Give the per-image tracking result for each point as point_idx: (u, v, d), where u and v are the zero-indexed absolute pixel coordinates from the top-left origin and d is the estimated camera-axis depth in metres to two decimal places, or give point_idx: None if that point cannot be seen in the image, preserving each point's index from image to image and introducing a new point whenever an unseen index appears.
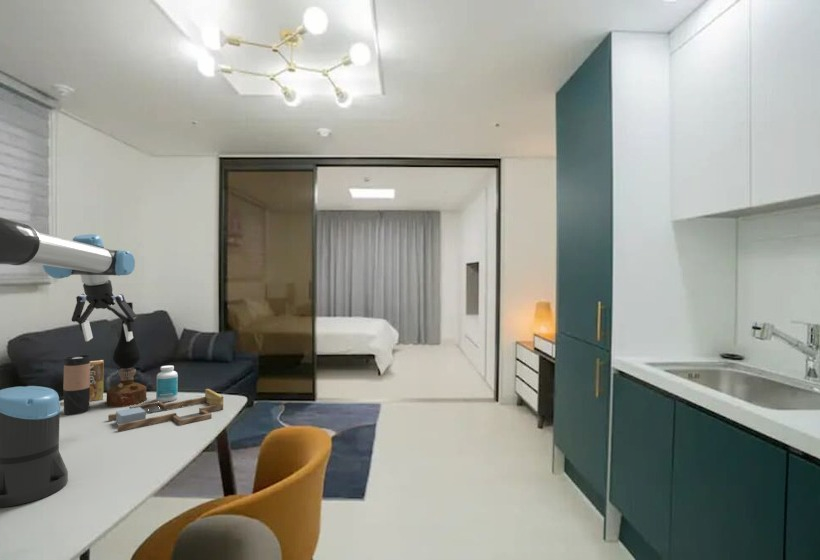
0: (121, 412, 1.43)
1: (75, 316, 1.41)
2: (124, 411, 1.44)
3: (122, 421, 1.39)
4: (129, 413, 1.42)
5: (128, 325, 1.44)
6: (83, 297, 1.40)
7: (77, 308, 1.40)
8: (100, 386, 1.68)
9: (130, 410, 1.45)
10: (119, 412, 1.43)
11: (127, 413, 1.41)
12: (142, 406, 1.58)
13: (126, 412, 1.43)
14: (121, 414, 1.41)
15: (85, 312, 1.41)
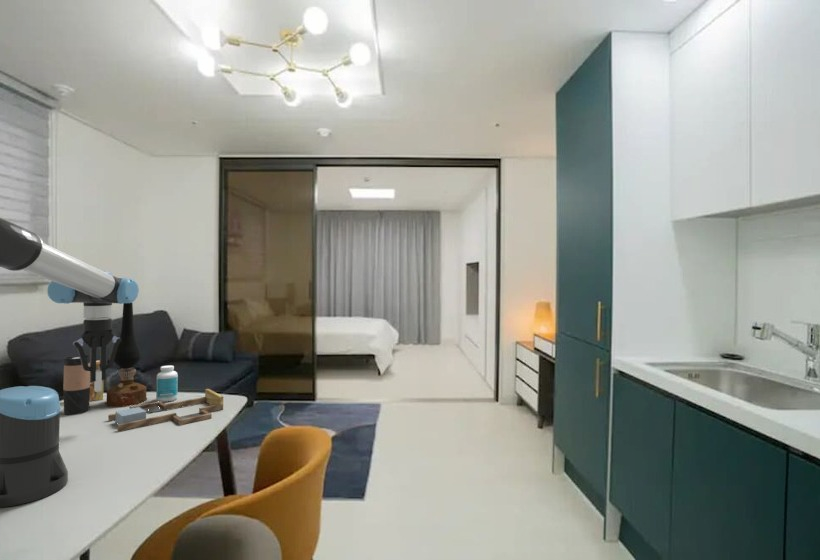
0: (121, 412, 1.42)
1: (86, 363, 1.34)
2: (124, 411, 1.44)
3: (123, 421, 1.39)
4: (129, 413, 1.42)
5: (103, 373, 1.38)
6: (79, 341, 1.33)
7: (82, 354, 1.33)
8: None
9: (130, 410, 1.45)
10: (119, 412, 1.42)
11: (128, 413, 1.41)
12: (142, 406, 1.58)
13: (126, 412, 1.43)
14: (121, 414, 1.41)
15: (93, 356, 1.35)
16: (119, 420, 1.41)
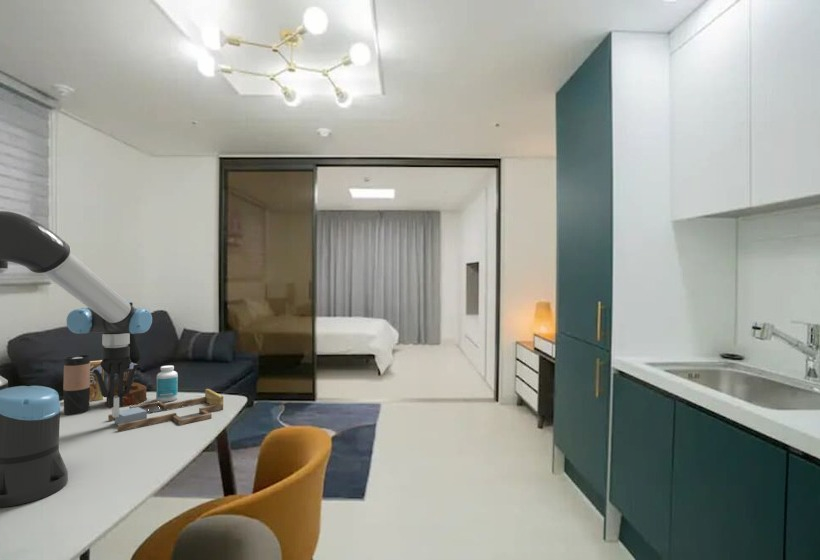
0: (121, 412, 1.42)
1: (104, 390, 1.37)
2: (124, 411, 1.44)
3: (124, 421, 1.39)
4: (130, 413, 1.42)
5: (120, 398, 1.41)
6: (98, 368, 1.37)
7: (101, 381, 1.37)
8: None
9: (130, 410, 1.45)
10: (119, 412, 1.42)
11: (128, 413, 1.41)
12: (142, 406, 1.58)
13: (126, 412, 1.43)
14: (122, 414, 1.41)
15: (111, 383, 1.39)
16: (119, 420, 1.41)
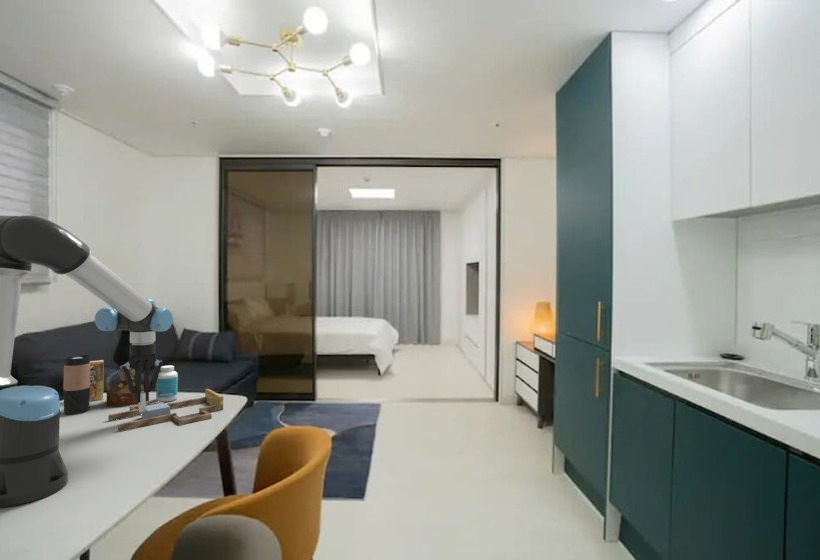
0: (147, 407, 1.48)
1: (132, 386, 1.43)
2: (149, 406, 1.49)
3: (148, 416, 1.44)
4: (155, 408, 1.47)
5: (146, 394, 1.47)
6: (126, 365, 1.42)
7: (129, 377, 1.42)
8: (100, 386, 1.68)
9: (155, 405, 1.50)
10: None
11: (153, 408, 1.47)
12: None
13: (151, 407, 1.48)
14: (147, 409, 1.46)
15: (138, 379, 1.44)
16: (145, 415, 1.46)
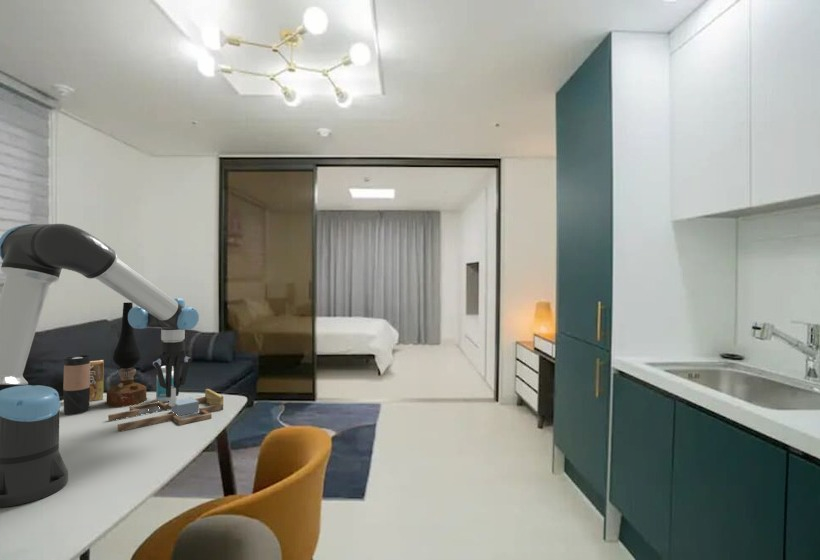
0: (176, 402, 1.55)
1: (163, 381, 1.50)
2: (179, 401, 1.56)
3: (179, 410, 1.51)
4: (184, 402, 1.54)
5: (176, 389, 1.54)
6: (158, 361, 1.49)
7: (161, 373, 1.49)
8: (100, 386, 1.68)
9: (184, 400, 1.57)
10: None
11: (183, 403, 1.53)
12: (142, 406, 1.58)
13: (181, 401, 1.55)
14: (177, 403, 1.53)
15: (169, 374, 1.51)
16: (175, 409, 1.53)
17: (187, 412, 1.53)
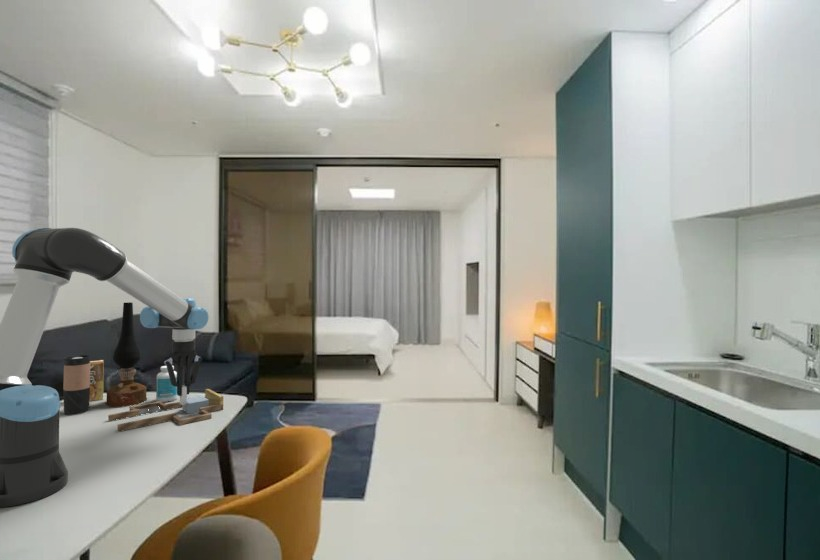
0: (187, 400, 1.57)
1: (175, 380, 1.53)
2: (189, 399, 1.58)
3: (189, 408, 1.54)
4: (195, 401, 1.56)
5: (187, 388, 1.56)
6: (169, 360, 1.52)
7: (172, 372, 1.52)
8: (100, 386, 1.68)
9: (194, 398, 1.60)
10: None
11: (193, 401, 1.56)
12: (142, 406, 1.58)
13: (191, 400, 1.58)
14: (188, 402, 1.55)
15: (180, 373, 1.54)
16: (186, 407, 1.56)
17: (198, 410, 1.56)
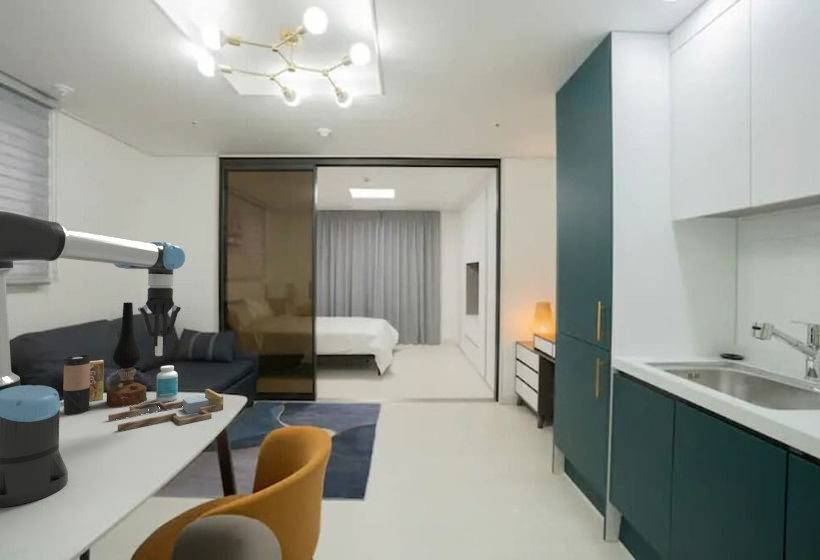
0: (187, 400, 1.58)
1: (150, 328, 1.43)
2: (190, 399, 1.59)
3: (189, 408, 1.54)
4: (194, 401, 1.56)
5: (163, 338, 1.46)
6: (144, 307, 1.42)
7: (147, 319, 1.42)
8: (100, 386, 1.68)
9: (195, 398, 1.60)
10: (186, 400, 1.58)
11: (193, 401, 1.56)
12: (142, 406, 1.58)
13: (191, 400, 1.58)
14: (188, 402, 1.55)
15: (156, 322, 1.44)
16: (186, 407, 1.56)
17: (197, 410, 1.56)
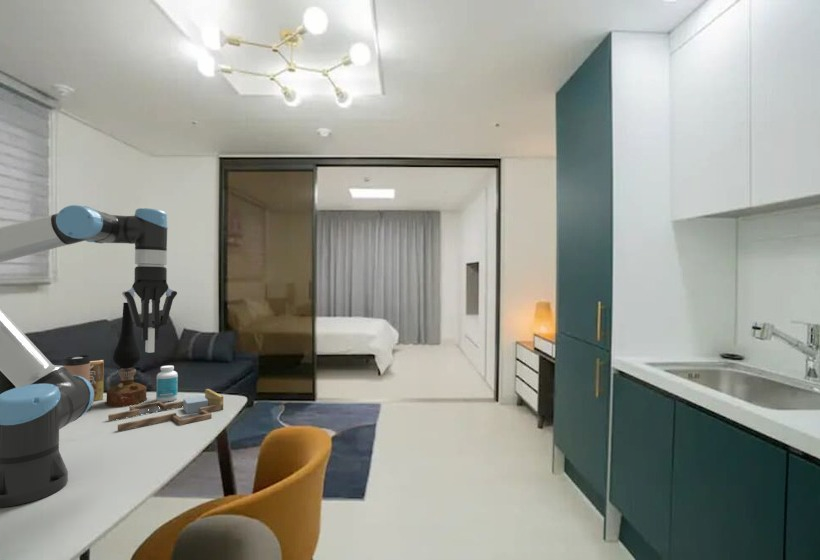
0: (187, 400, 1.58)
1: (138, 318, 1.13)
2: (190, 399, 1.59)
3: (188, 408, 1.54)
4: (194, 401, 1.56)
5: (156, 330, 1.16)
6: (130, 291, 1.12)
7: (134, 307, 1.12)
8: (100, 386, 1.68)
9: (195, 398, 1.60)
10: (186, 400, 1.58)
11: (192, 401, 1.56)
12: (142, 406, 1.58)
13: (191, 399, 1.58)
14: (187, 401, 1.56)
15: (145, 310, 1.14)
16: (185, 407, 1.56)
17: (196, 410, 1.56)
